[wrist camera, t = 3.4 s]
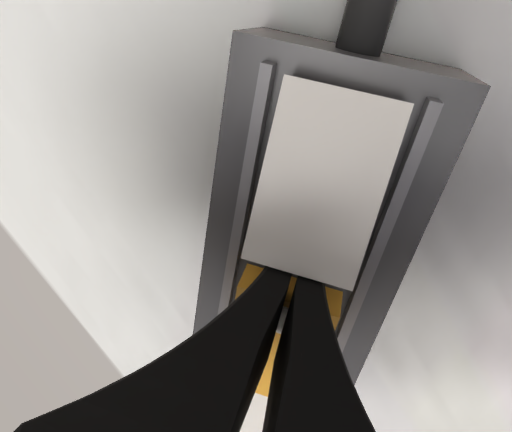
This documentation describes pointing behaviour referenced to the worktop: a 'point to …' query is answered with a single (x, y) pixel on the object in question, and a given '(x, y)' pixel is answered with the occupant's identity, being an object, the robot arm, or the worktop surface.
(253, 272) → the block
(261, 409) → the block
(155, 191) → the worktop surface
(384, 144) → the plate
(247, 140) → the power strip
